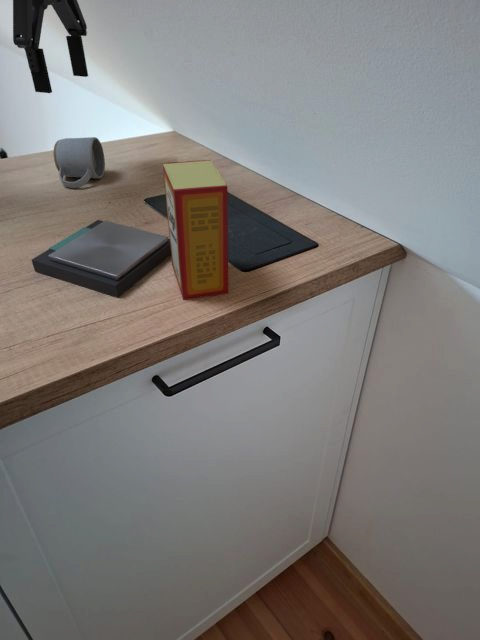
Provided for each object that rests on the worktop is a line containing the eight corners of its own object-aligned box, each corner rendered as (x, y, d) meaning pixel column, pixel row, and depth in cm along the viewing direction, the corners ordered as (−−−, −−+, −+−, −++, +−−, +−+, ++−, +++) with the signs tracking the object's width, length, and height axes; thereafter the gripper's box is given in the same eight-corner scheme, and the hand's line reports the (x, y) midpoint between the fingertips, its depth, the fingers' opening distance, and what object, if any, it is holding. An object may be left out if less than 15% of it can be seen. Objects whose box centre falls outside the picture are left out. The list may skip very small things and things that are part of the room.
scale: (34, 271, 72) (30, 258, 71) (100, 230, 83) (97, 218, 82) (118, 297, 68) (115, 284, 67) (175, 251, 79) (174, 238, 77)
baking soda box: (172, 265, 75) (162, 160, 65) (213, 260, 77) (210, 157, 66) (183, 299, 68) (173, 187, 58) (228, 293, 70) (227, 183, 60)
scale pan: (49, 260, 71) (48, 255, 71) (106, 224, 80) (105, 220, 80) (117, 280, 68) (116, 275, 67) (168, 241, 77) (168, 236, 76)
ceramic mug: (69, 168, 104) (60, 130, 98) (107, 170, 104) (101, 132, 99) (51, 189, 96) (41, 149, 91) (93, 190, 96) (85, 150, 91)
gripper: (8, -70, 66) (46, 102, 80) (91, -67, 85) (111, 71, 99) (-43, -72, 67) (4, 98, 81) (51, -69, 86) (76, 68, 99)
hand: (63, 83), depth 90 cm, fingers open, 13 cm apart
